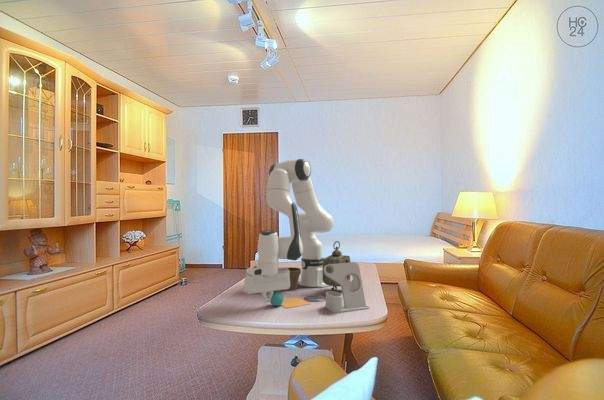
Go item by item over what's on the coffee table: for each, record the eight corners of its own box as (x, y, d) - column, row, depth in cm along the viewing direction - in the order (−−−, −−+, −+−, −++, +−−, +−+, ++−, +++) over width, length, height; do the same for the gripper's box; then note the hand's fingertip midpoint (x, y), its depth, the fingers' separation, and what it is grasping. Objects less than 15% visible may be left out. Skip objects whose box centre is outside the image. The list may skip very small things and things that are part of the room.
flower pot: (276, 286, 174) (276, 267, 175) (297, 285, 178) (297, 266, 178) (282, 292, 163) (281, 271, 164) (303, 290, 167) (303, 270, 167)
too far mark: (317, 294, 159) (317, 294, 159) (330, 299, 151) (330, 299, 151) (300, 297, 154) (300, 297, 154) (311, 303, 145) (311, 302, 145)
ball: (272, 306, 144) (281, 295, 147) (279, 310, 140) (288, 298, 142) (264, 298, 142) (273, 287, 144) (271, 302, 137) (280, 290, 139)
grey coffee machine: (333, 313, 131) (332, 268, 132) (323, 306, 141) (322, 263, 141) (371, 308, 137) (371, 265, 138) (359, 302, 147) (358, 261, 147)
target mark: (297, 297, 154) (297, 296, 154) (310, 303, 144) (310, 303, 144) (273, 301, 148) (273, 300, 148) (286, 308, 138) (286, 308, 138)
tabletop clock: (338, 296, 156) (338, 242, 157) (321, 293, 161) (321, 241, 161) (350, 289, 169) (350, 240, 169) (334, 287, 173) (334, 239, 174)
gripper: (286, 266, 148) (285, 297, 148) (242, 269, 138) (242, 303, 137) (293, 268, 143) (292, 300, 142) (248, 271, 133) (247, 306, 132)
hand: (267, 301), depth 140 cm, fingers closed
